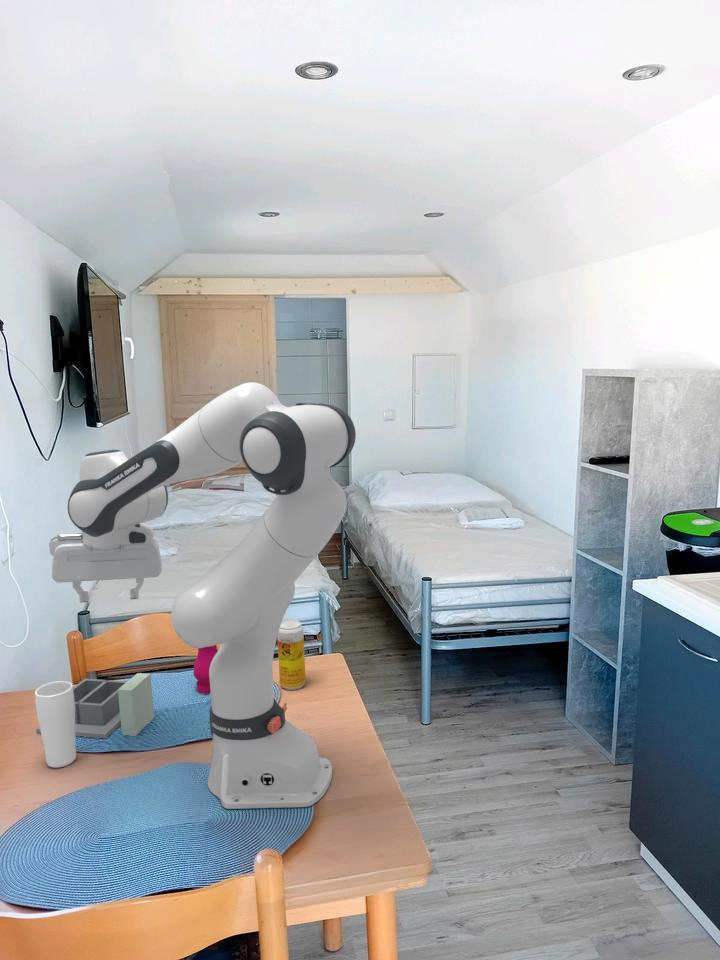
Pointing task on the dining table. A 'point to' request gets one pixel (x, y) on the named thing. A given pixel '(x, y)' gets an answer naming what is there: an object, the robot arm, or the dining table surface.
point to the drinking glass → (57, 722)
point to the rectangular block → (136, 704)
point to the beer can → (291, 655)
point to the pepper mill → (204, 668)
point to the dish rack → (96, 707)
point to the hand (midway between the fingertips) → (109, 600)
